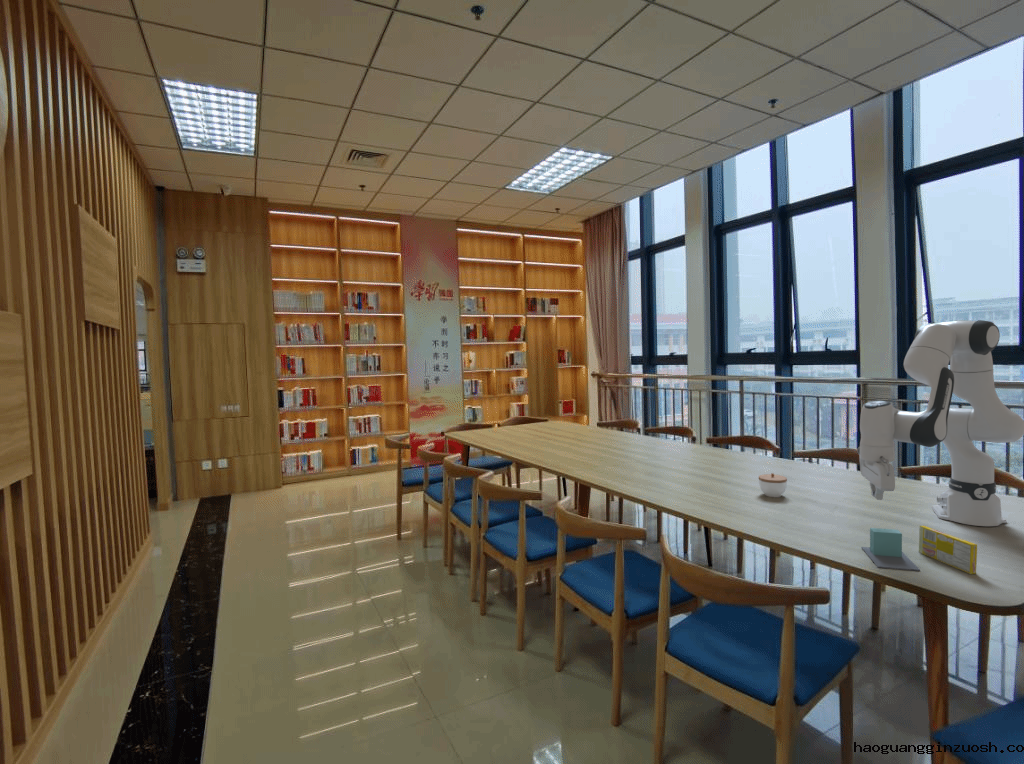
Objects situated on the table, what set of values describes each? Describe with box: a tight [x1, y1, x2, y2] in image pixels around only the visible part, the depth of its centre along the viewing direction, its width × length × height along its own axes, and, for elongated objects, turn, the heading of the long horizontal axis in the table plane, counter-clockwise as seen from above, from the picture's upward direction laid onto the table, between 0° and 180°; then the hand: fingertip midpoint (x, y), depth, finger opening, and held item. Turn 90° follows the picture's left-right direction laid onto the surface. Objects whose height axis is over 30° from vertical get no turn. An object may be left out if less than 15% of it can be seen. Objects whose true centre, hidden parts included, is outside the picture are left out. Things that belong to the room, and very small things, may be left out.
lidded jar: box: [758, 472, 788, 498], centre depth 220 cm, size 11×11×9 cm
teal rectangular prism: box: [869, 527, 903, 557], centre depth 155 cm, size 4×7×7 cm, turn 70°
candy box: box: [918, 525, 978, 575], centre depth 149 cm, size 16×2×8 cm, turn 6°
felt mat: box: [861, 546, 921, 572], centre depth 152 cm, size 15×10×1 cm, turn 161°
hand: (877, 497), depth 162 cm, fingers closed
